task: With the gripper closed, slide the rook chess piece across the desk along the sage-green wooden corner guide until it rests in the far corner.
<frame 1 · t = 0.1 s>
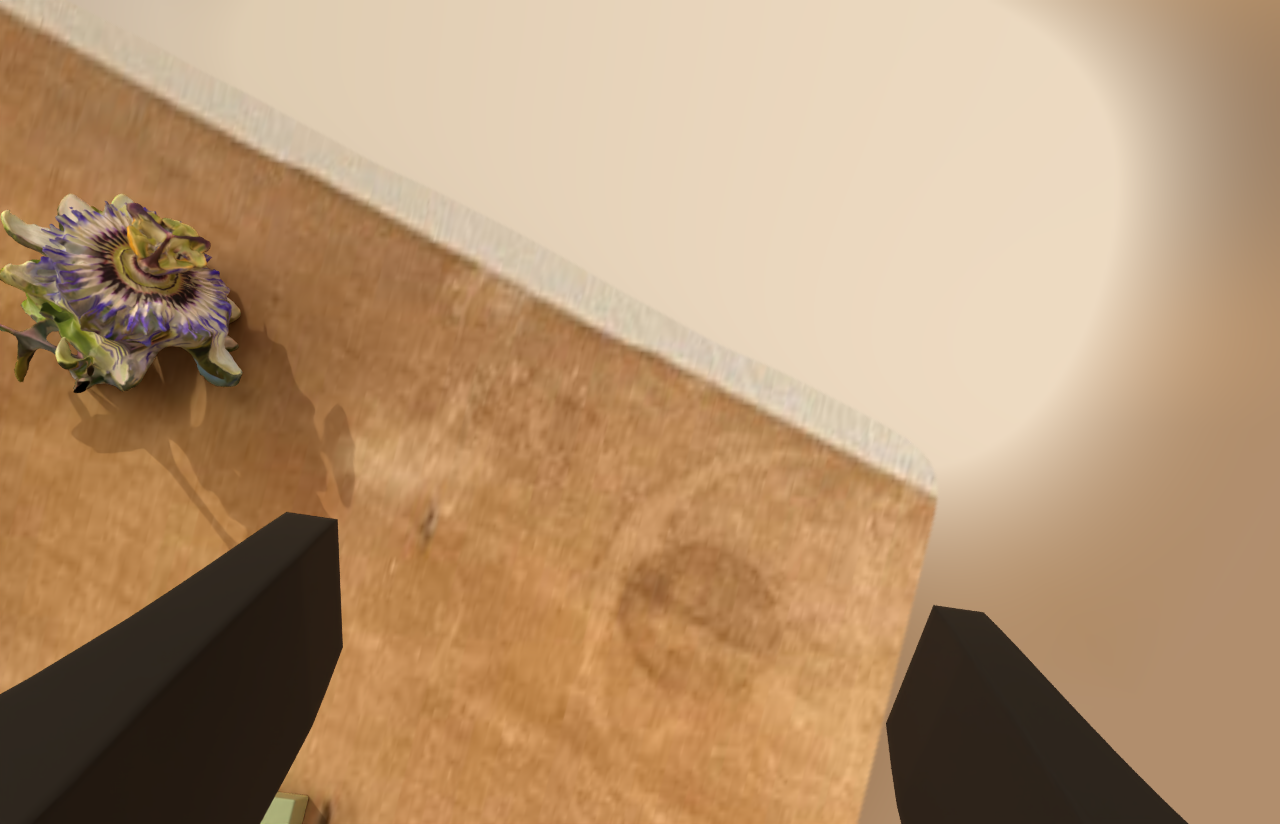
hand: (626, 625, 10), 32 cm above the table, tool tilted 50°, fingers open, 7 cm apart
passion flower: (151, 345, 45), on the table
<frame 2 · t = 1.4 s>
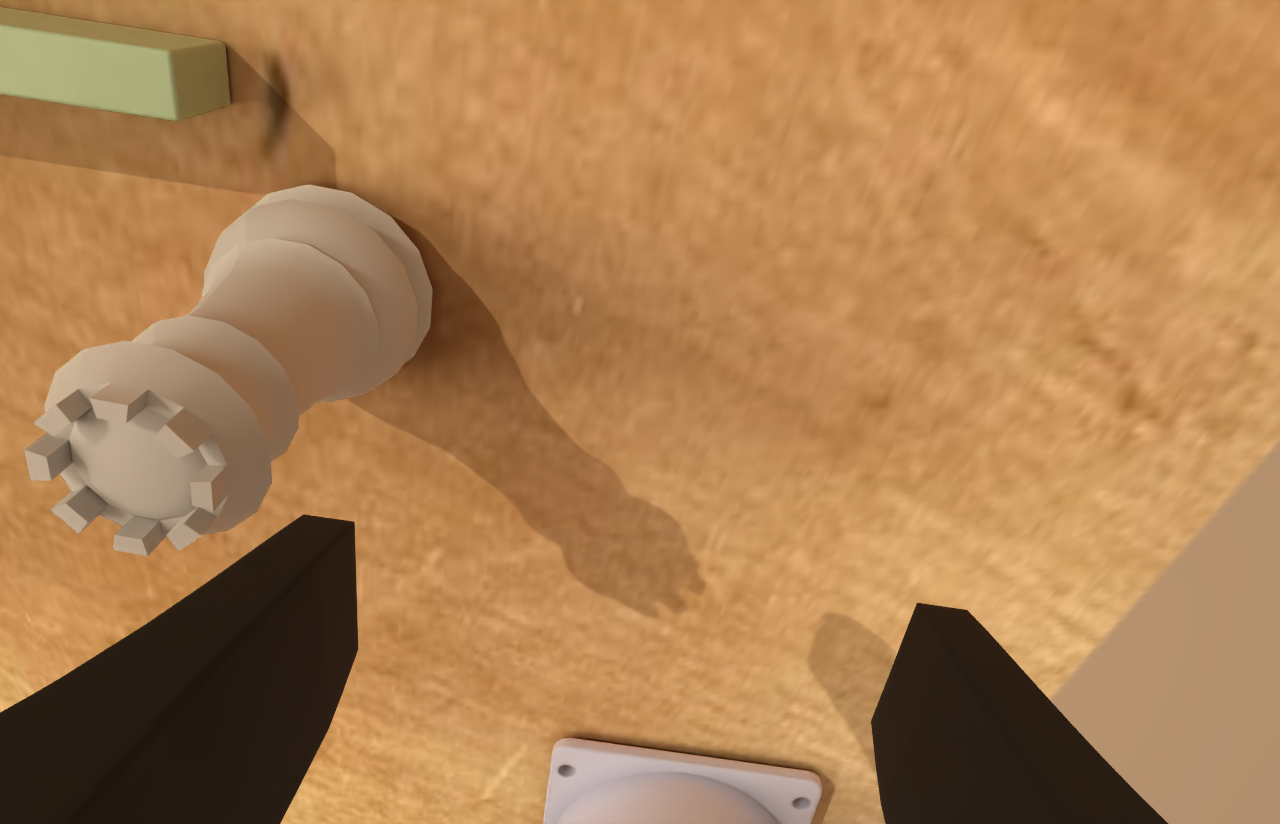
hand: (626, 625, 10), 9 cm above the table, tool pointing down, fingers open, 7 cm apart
rook chess piece: (341, 279, 19), on the table
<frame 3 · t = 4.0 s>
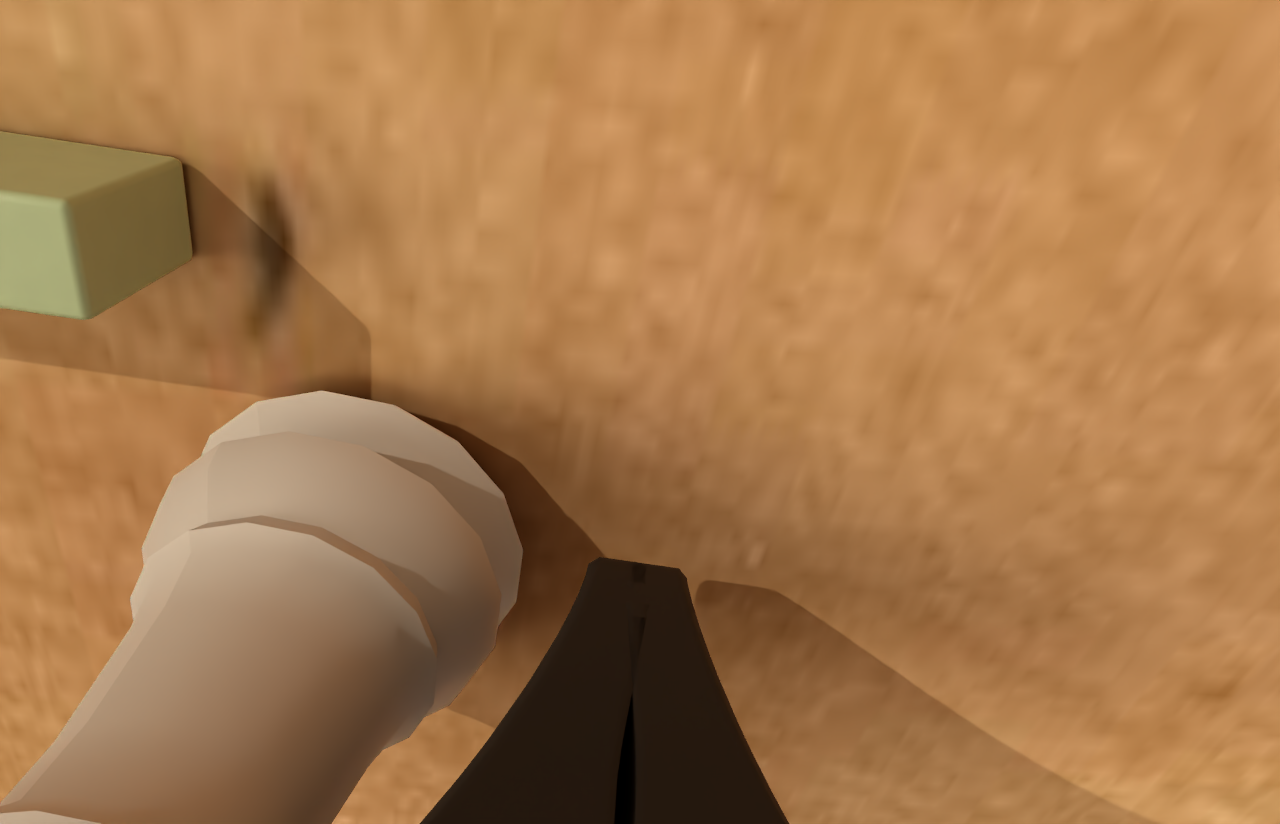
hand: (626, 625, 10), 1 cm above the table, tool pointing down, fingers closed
rook chess piece: (375, 513, 12), on the table, touching gripper
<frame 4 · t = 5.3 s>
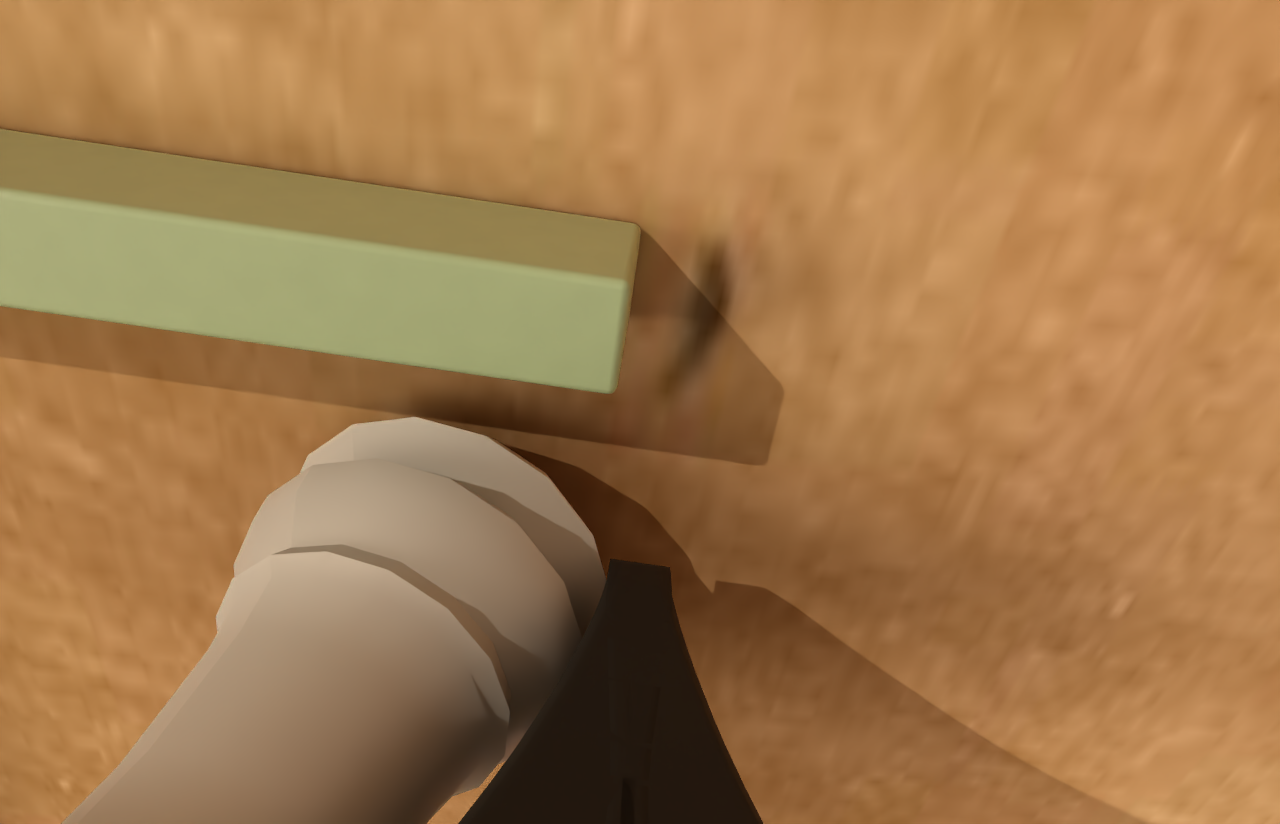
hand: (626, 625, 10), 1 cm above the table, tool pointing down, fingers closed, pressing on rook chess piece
rook chess piece: (465, 544, 11), on the table, touching gripper
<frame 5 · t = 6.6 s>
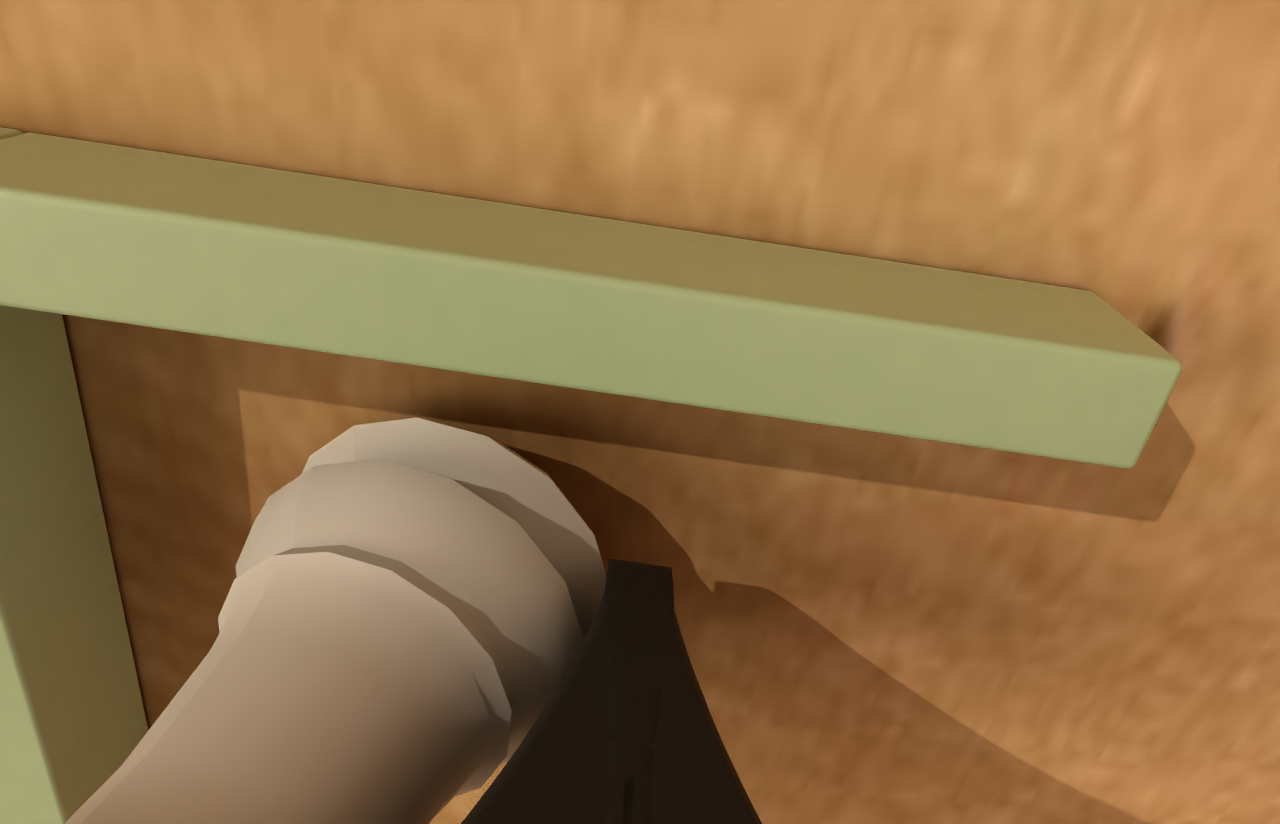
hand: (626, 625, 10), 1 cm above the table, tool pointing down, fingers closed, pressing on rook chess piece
rook chess piece: (467, 544, 11), on the table, touching gripper
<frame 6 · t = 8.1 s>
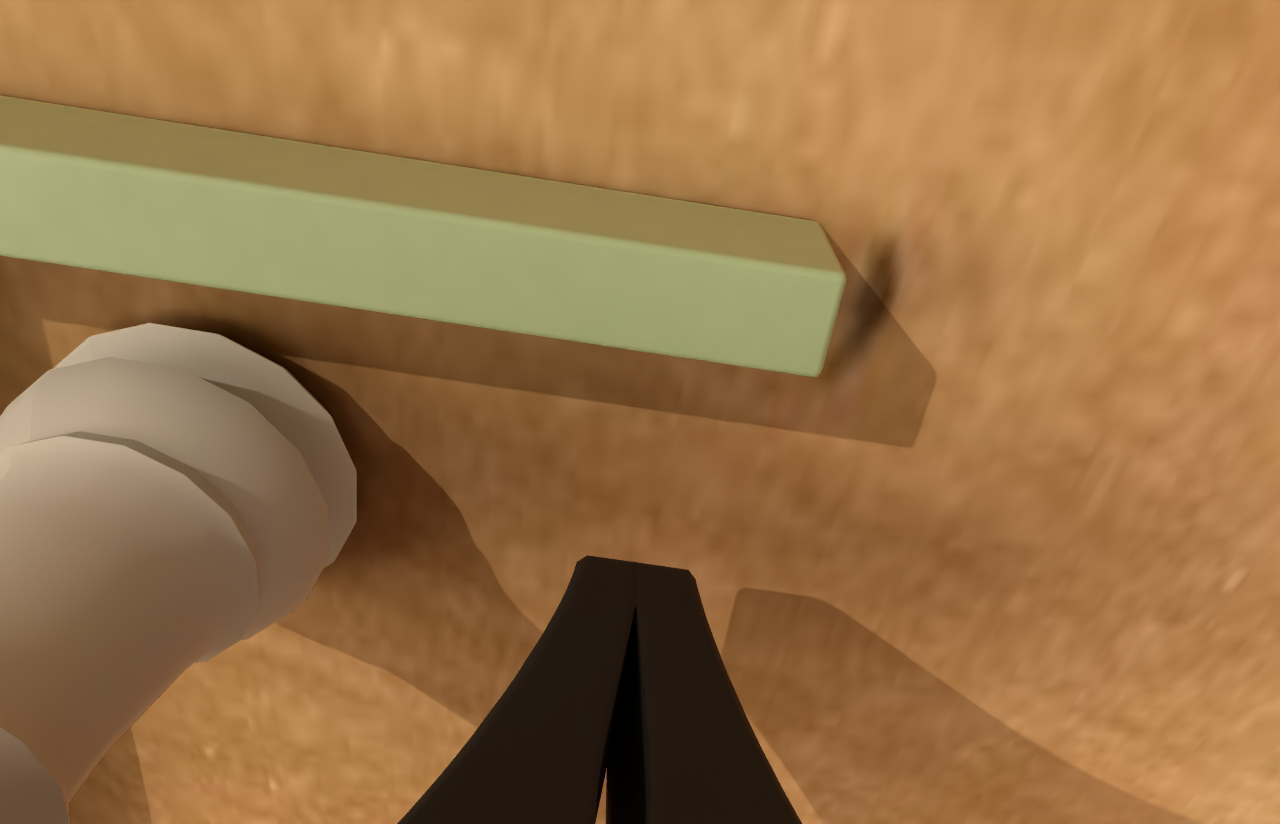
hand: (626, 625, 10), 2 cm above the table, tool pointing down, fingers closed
rook chess piece: (224, 446, 12), on the table
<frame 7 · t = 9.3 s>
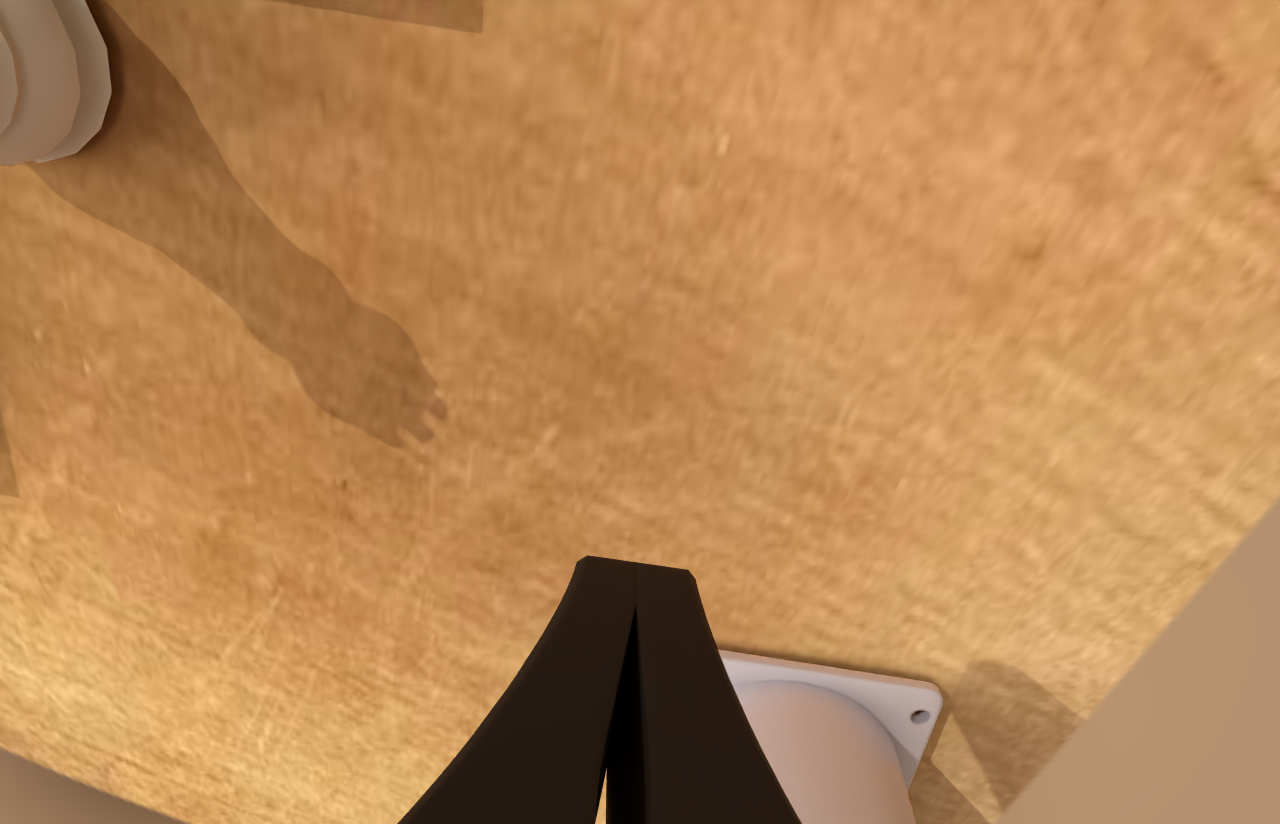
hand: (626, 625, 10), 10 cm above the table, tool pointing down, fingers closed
rook chess piece: (27, 49, 18), on the table
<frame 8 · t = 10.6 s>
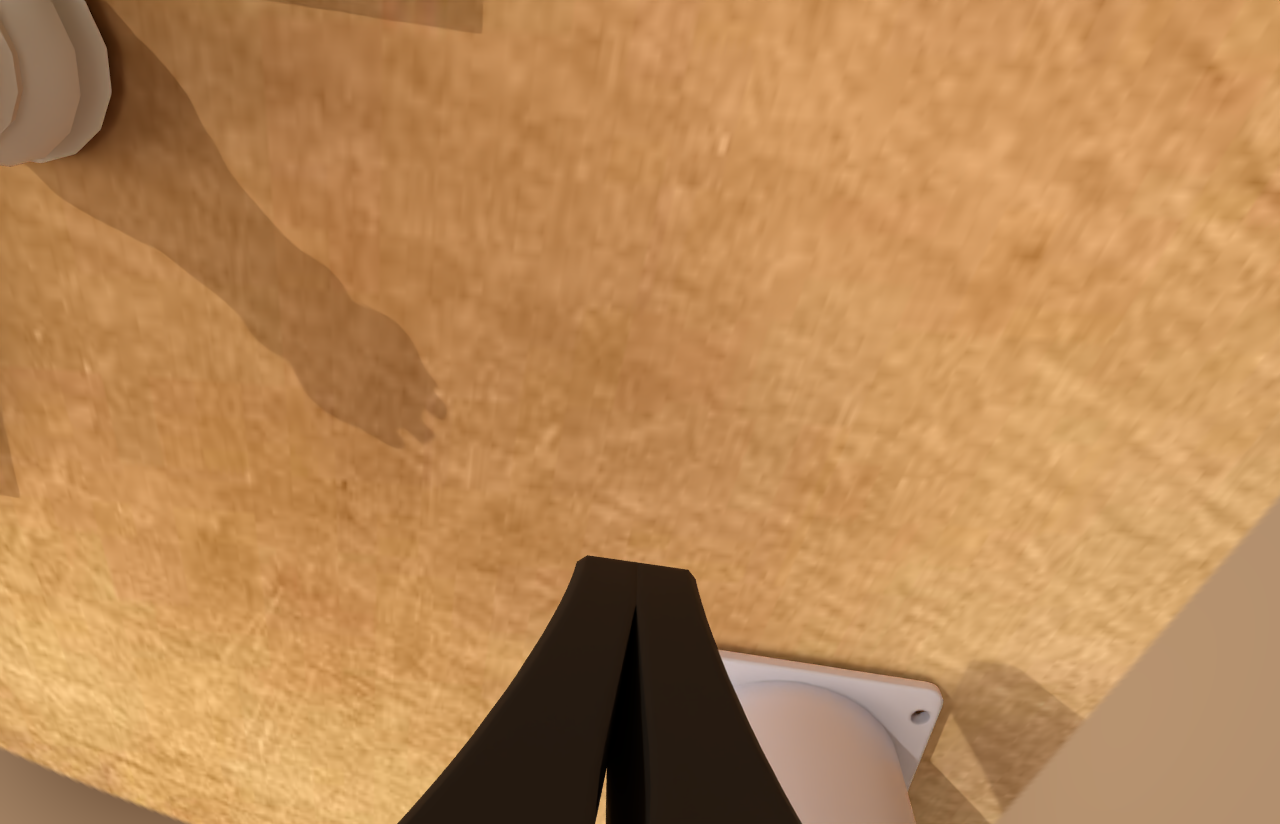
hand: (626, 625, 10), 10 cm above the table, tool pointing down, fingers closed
rook chess piece: (27, 50, 18), on the table
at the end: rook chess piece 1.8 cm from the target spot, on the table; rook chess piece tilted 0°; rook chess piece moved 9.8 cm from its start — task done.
